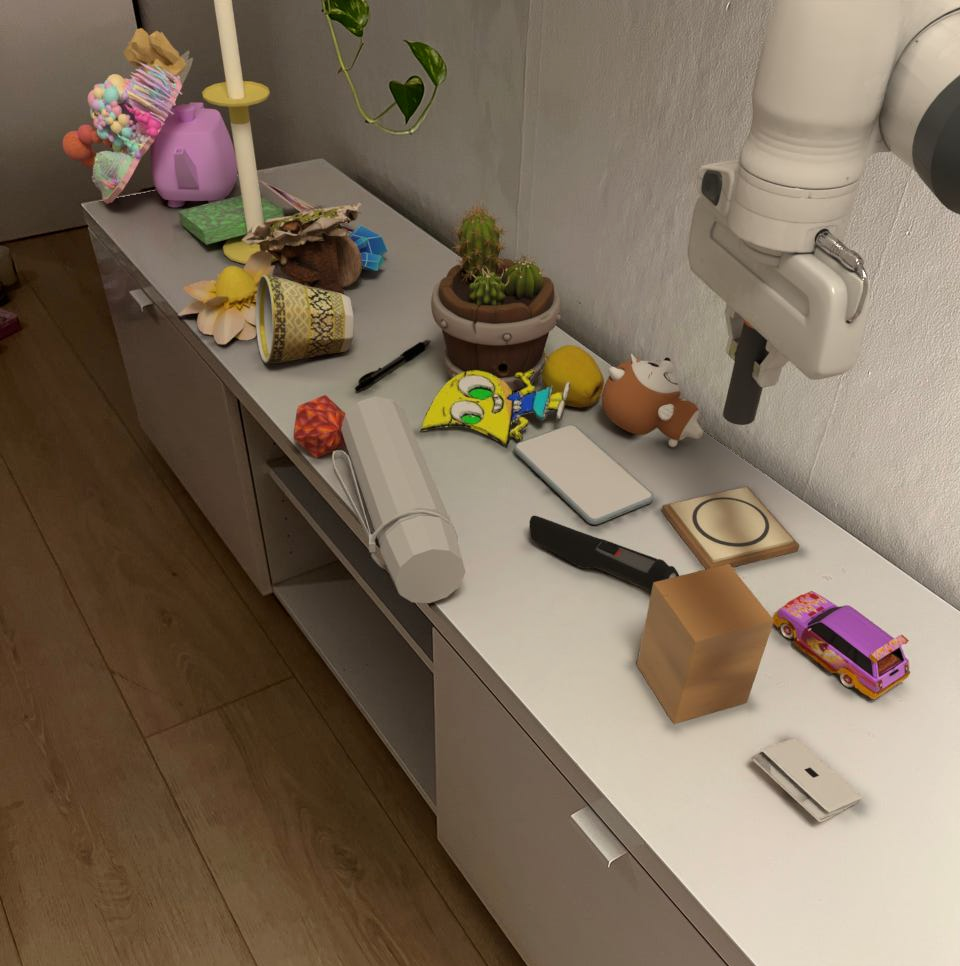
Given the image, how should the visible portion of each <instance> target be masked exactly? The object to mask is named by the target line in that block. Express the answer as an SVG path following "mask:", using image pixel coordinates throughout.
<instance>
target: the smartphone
mask: <svg viewBox="0 0 960 966" xmlns="http://www.w3.org/2000/svg"><path fill="white" fill-rule="evenodd" d="M513 452H514V453H515V454H516V455H517V456H518V457H519V458H520V459H521V460H522V461H523V462H524V463H525V464H526V465H527V466H528V467H529V468H530V469H531V470H533V472H535V474H537V475H538V477H540V478H541V479H542V481H544V482H545V483H546V484H547V485H548V486H549V487H550V488H551V489H552V490H553V491H554V492H555V493H557V494H558V495H559V496H560V498H562V499H563V500H564V501H565V502H566V503H567V505H569V506H570V507H571V508H572V509H573V510H574V511H575V512H576V513H577V514H578V515H579V516H580V517H582V518H583V520H585V521H586V522H587V523H588V524H590V525H594V526H595V525H596V526H597V525H600V524H602V523H605V522H608V521H610V520H612V519H614V518H615V519H616V518H617V517H620V516H622V515H624V514H627V513H630V512H631V511H634V510H637V509H640V508H642V507H644V506H647V505H649V504H651V503H652V502H653V500H654V497H655V496H654V494H653V492H652V491H651V490H650V489H649V488H647V487H646V486H645V485H644V484H643V483H642V482H640V481H639V480H638V479H637V478H636V477H635V476H634V475H633V474H631V473H630V472H629V471H628V470H627V469H626V468H624V467H623V465H621V464H620V463H619V462H618V461H617V460H615V459H614V458H613V457H612V456H611V455H610V454H609V453H607V451H605V450H604V449H603V448H602V447H600V446H599V445H598V444H597V442H595V441H594V440H592V439H591V438H590V437H589V436H588V435H587V434H586V433H585V432H583V431H582V430H581V429H580V428H579V427H578V426H577V425H574V424H566V425H564V426H561V427H559V428H555V429H552V430H549V431H547V432H544V433H541V434H538V435H535V436H532V437H530V438H527V439H523V440H522V441H518V442H516V443H515V444H514V445H513Z"/></svg>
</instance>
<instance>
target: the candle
mask: <svg viewBox="0 0 960 966" xmlns="http://www.w3.org/2000/svg"><path fill="white" fill-rule="evenodd" d="M213 5H214V11H215V18H216V24H217V25H216V26H217V31H218V32H217V33H218V38H219V45H220V51H221V58H222V63H223V72H224V77H225V81H223V82H218V83H214V84H212V85H211V84H210V86H207V87H205V88H204V89H203V90H202V92H201V94H202V98H203V101H205V102H207V103H208V104H210V105H215V106H218V107H225V108H226V107H228V113H229V120H230V127H231V128H230V129H231V134H232V140H233V141H232V142H233V148H234V151H235V155H236V161H237V167H238V173H237V175H238V180H239V186H240V193H241V194H240V195H242V200H243V207H244V214H245V220H246V227H247V233H248V232H249V231H250V229H251V228H252V227H253V228H252V233H254V232H255V230H256V228H257V227H258V226H261V225H262V224H263V223H264V219H263V212H262V204H261V197H260V195H261V190H260V184H259V180H258V179H259V177H258V175H259V174H258V170H257V161H256V154H255V147H254V141H253V132H252V125H251V119H250V112H249V106H253V105H258V104H260V103H262V102H264V101H267V100H268V98H269V97H270V95H271V91H270V89H269V87H267V86H266V85H264V84H262V83H259V82H255V81H251V80H250V81H249V80H248V81H247V80H244V79H243V71H242V63H241V56H240V50H239V42H238V35H237V29H236V22H235V21H236V20H235V16H234V14H235V13H234V8H233V1H232V0H213ZM245 236H246V234H244V235H241V236H237V237H233V238H229V239H226V241H225V243H224V244H223V246H222V251H223V255H224V256H226V258H227V259H229V260H230V261H233V262H236V263H240V264H244V265H245V264H246V262H247V260H248V259H249V257H250V256H251V255H252V254H254V253H256V252H257V251H261V250H260V245H259V244H253V245H250V244H248V243H246V242H244V241H243V240H242V239H243V238H244V237H245ZM241 240H242V241H241ZM266 252H268V251H267V250H266ZM277 261H278V262H279V261H280V260H279V259H277V258H276V257H274V256H273V255H272V260H271V264H272V263H275V262H277Z"/></svg>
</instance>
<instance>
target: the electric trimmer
mask: <svg viewBox="0 0 960 966" xmlns="http://www.w3.org/2000/svg"><path fill="white" fill-rule="evenodd" d="M529 536H530V539H531V540H532V541H533V542H534V543H536V544H537V545H540V546H541V547H542V548H545V549H546V550H548V551H550V552H551V553H554V554H555V555H557V556H558V557H560V558H563V559H564V560H566V561H568V562H570V563H572V564H574V565H576V566H578V567H579V568H581V569H593V568H596V569H597V570H600V571H603V572H605V573H607V574H609V575H612V576H614V577H617V578H619V579H621V580H623V581H625V582H628V583H630V584H633V585H635V586H638V587H640V588H643V589H645V590H647V591H649V592H650V593H651V592H652V587H653V583H654V582H657V581H661V580H665V579H669V578H673V577H677V576H680V574H679V572H678V571H677V569H676V568H675V566H673V565H669V564H668V563H667V562H666V561H665V560H664V559H660V558H656V557H653V556H650V555H648V554H645V553H642V552H640V551H636V550H634V549H632V548H628V547H625V546H622V545H621V544H618V543H614V542H611V541H610V540H606V539H604V538H599V537H596V536H593V535H591V534H588V533H584V532H583V531H579V530H577V529H574V528H571V527H568V526H565V525H563V524H561V523H558V522H555V521H552V520H549V519H547V518H544V517H541V516H539V515H531V516H530V519H529Z"/></svg>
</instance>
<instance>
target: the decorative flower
mask: <svg viewBox="0 0 960 966" xmlns="http://www.w3.org/2000/svg"><path fill="white" fill-rule="evenodd" d="M271 260H272V254H270V253H269V252H266V251H264V250H263V251H257V252H256V253H254V254H252V255H251V256H250V257H249V259H248V260H247V262H246V264H244V267H243V268H241V267H239V266H236V265H230V266H226V267H224V269H222V271H221V272H220V273H217V280H216V279H211V280H201V281H200V280H199V281H197V282H193V283H190V284H188V285H185V286H183V287H182V288H183V290H184V291H185V293H186V294H188V295H189V296H190V297H192V298H194V299H193V300H191V301H190V302H189V303H188V304H187V305H186V306H185V307H184V308H183V309H182V310H181V311H180V312H179V313H178V314H177V316H184V315H191V314H197V318H196V322H197V323H196V324H197V328H198V330H199V331H200V333H202V334H204V335H209V336H213V340H214V342H216V344H217V345H227V344H228V343H229V342H230V341H232V340H233V338H236V339H238V340H240V341H249V340H252V339H256V337H257V330H256V296H257V288H258V283H259V280H260V278H261V276H262V275H269V276H274V277H279V278H283V279H287V277H286V276H284V275H278V274H274V271H275V268H276V265H272V263H271Z"/></svg>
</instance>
